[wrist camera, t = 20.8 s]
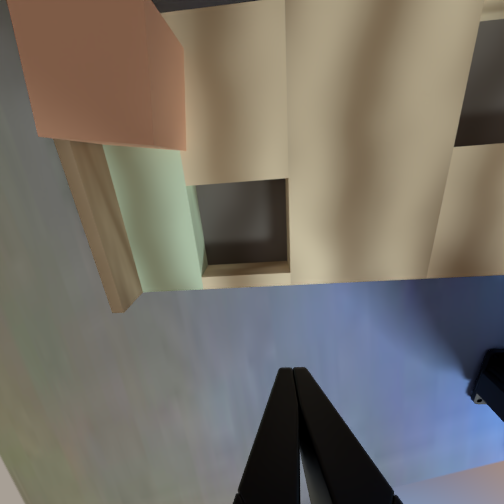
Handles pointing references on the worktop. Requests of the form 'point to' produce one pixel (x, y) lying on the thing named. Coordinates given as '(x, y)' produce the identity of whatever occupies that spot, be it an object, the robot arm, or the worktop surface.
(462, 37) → the board
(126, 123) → the block
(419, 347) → the worktop surface
